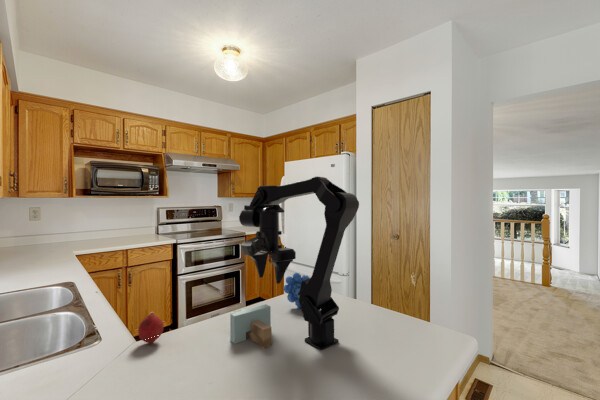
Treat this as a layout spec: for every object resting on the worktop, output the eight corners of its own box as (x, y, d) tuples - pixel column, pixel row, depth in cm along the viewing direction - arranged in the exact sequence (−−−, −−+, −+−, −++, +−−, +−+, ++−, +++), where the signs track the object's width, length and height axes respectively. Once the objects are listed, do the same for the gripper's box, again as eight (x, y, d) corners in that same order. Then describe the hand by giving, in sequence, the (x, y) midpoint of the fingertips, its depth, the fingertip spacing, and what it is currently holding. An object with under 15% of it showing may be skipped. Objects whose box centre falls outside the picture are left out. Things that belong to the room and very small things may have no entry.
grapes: (281, 311, 96) (281, 275, 96) (284, 304, 103) (284, 270, 103) (316, 312, 95) (316, 276, 95) (317, 305, 102) (317, 271, 102)
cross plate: (270, 331, 82) (270, 306, 82) (234, 343, 75) (234, 316, 75) (266, 328, 83) (265, 304, 84) (230, 340, 76) (230, 313, 77)
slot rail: (271, 345, 74) (271, 327, 74) (263, 348, 72) (263, 329, 72) (241, 325, 86) (241, 309, 86) (233, 327, 85) (233, 311, 85)
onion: (153, 350, 72) (152, 317, 72) (132, 347, 73) (132, 315, 73) (168, 339, 77) (168, 309, 78) (149, 337, 79) (149, 307, 79)
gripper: (230, 227, 89) (230, 278, 89) (262, 231, 75) (263, 293, 74) (261, 225, 96) (261, 273, 96) (296, 229, 82) (297, 285, 81)
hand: (269, 280), depth 87 cm, fingers open, 9 cm apart
